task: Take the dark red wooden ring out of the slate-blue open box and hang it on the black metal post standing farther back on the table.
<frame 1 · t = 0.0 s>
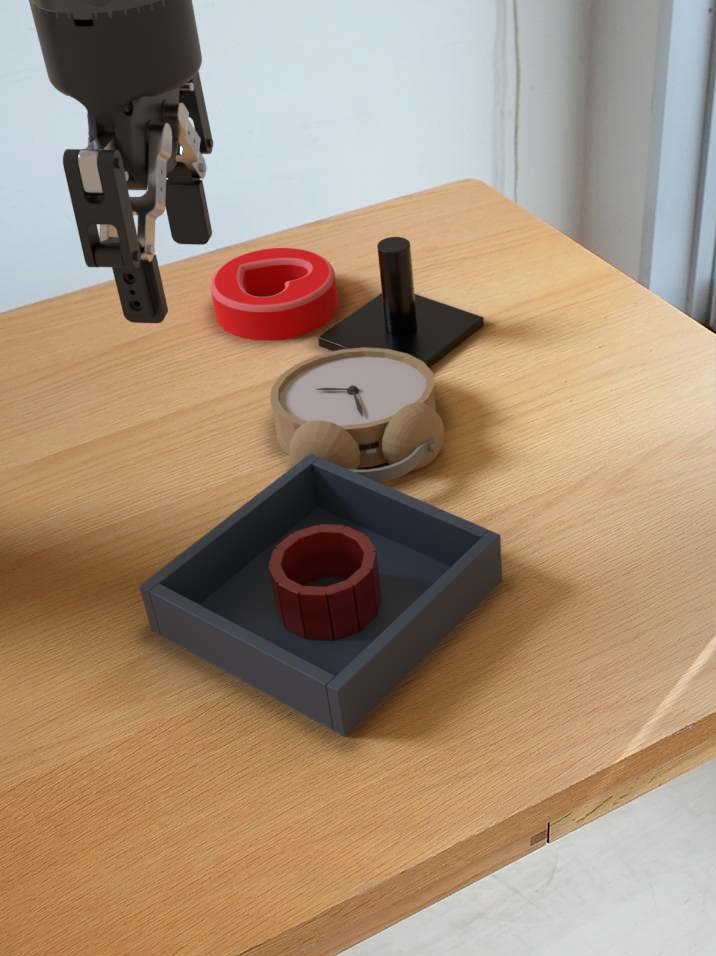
hand: (171, 279, 73), 18 cm above the table, tool pointing down, fingers open, 8 cm apart
ring: (329, 604, 77), point 1 cm above the table, touching box
decorative ornament: (277, 312, 105), on the table
post: (402, 338, 101), on the table
alarm clock: (362, 445, 91), on the table, touching box
box: (330, 611, 78), on the table
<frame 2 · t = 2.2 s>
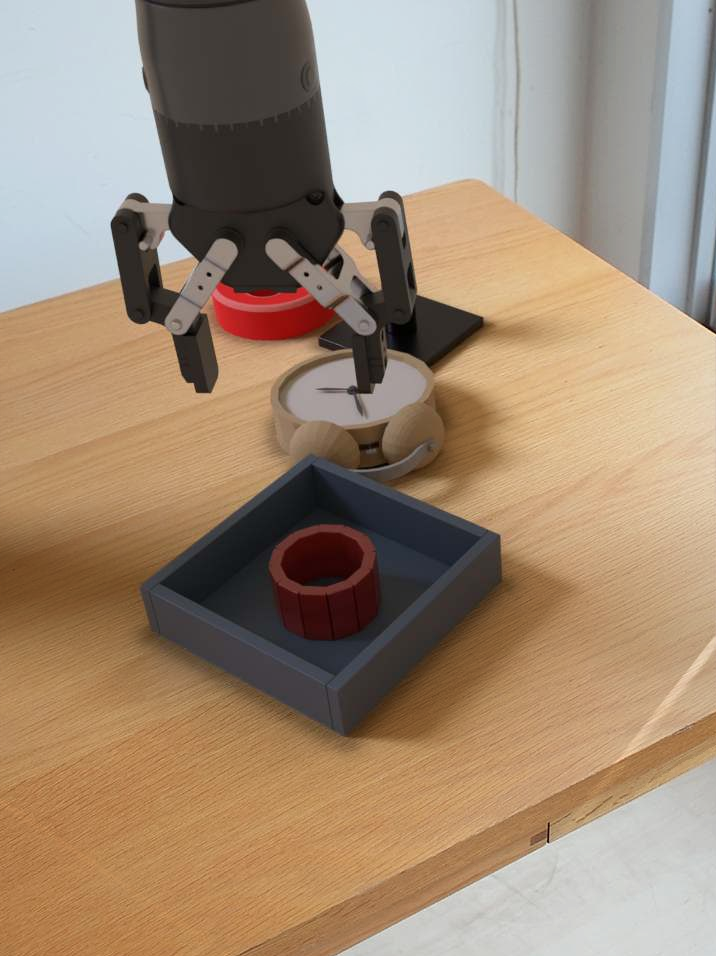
hand: (287, 385, 69), 15 cm above the table, tool pointing down, fingers open, 8 cm apart
nothing on the table moved.
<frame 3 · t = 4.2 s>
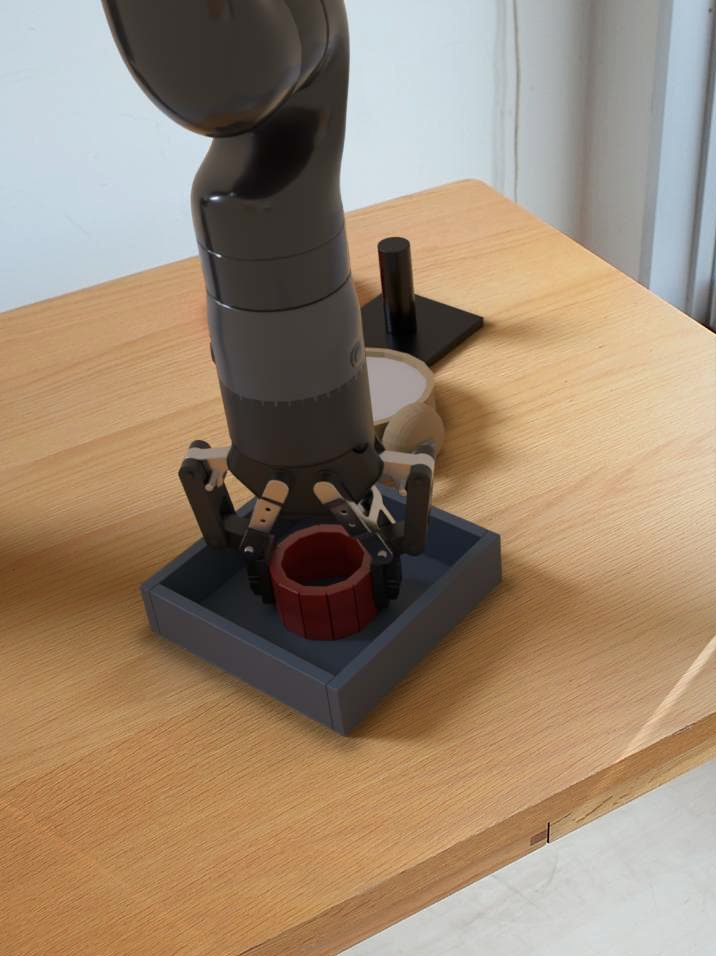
hand: (328, 595, 77), 1 cm above the table, tool pointing down, fingers closed on ring, 6 cm apart
ring: (329, 604, 77), point 1 cm above the table, touching box, gripper
everything else where it was.
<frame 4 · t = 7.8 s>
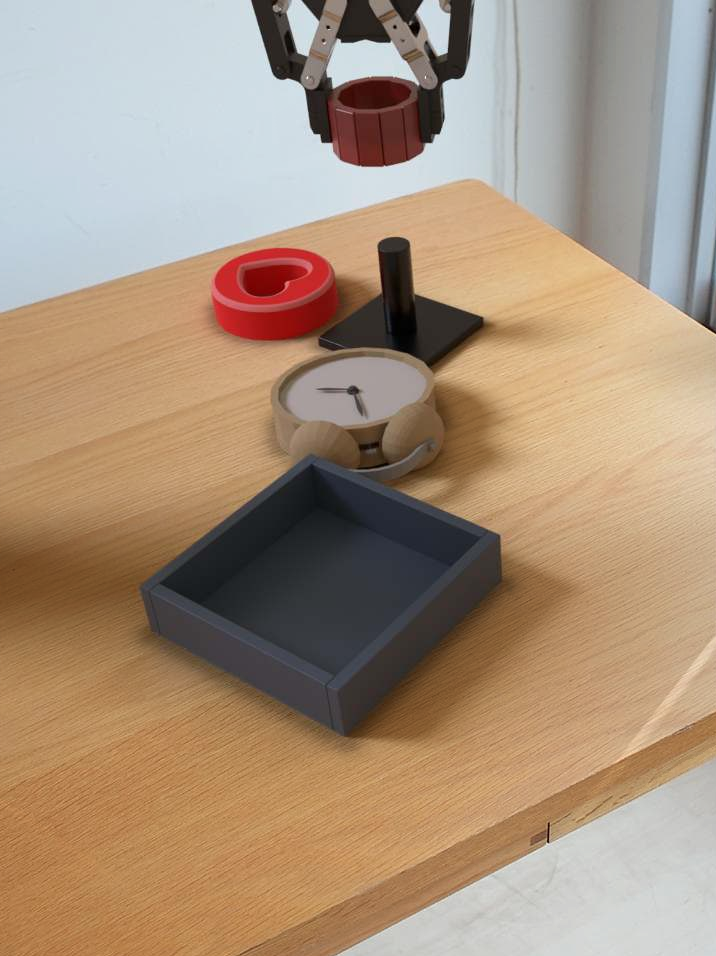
hand: (378, 137, 87), 18 cm above the table, tool pointing down, fingers closed on ring, 6 cm apart
ring: (380, 147, 87), point 17 cm above the table, touching gripper
everything else where it was.
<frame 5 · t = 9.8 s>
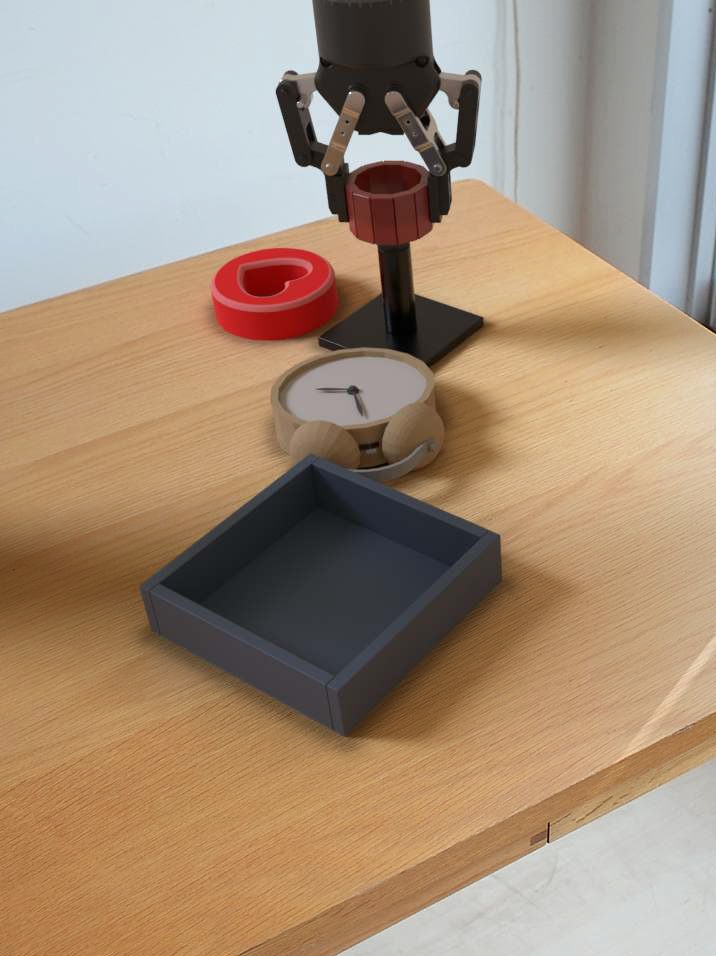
hand: (391, 217, 95), 10 cm above the table, tool pointing down, fingers closed on ring, 6 cm apart
ring: (392, 225, 95), point 10 cm above the table, touching gripper
everything else where it was.
when the fingers open (6 cm above the table, at t = 11.6 s): ring drops 4 cm, resting on post.
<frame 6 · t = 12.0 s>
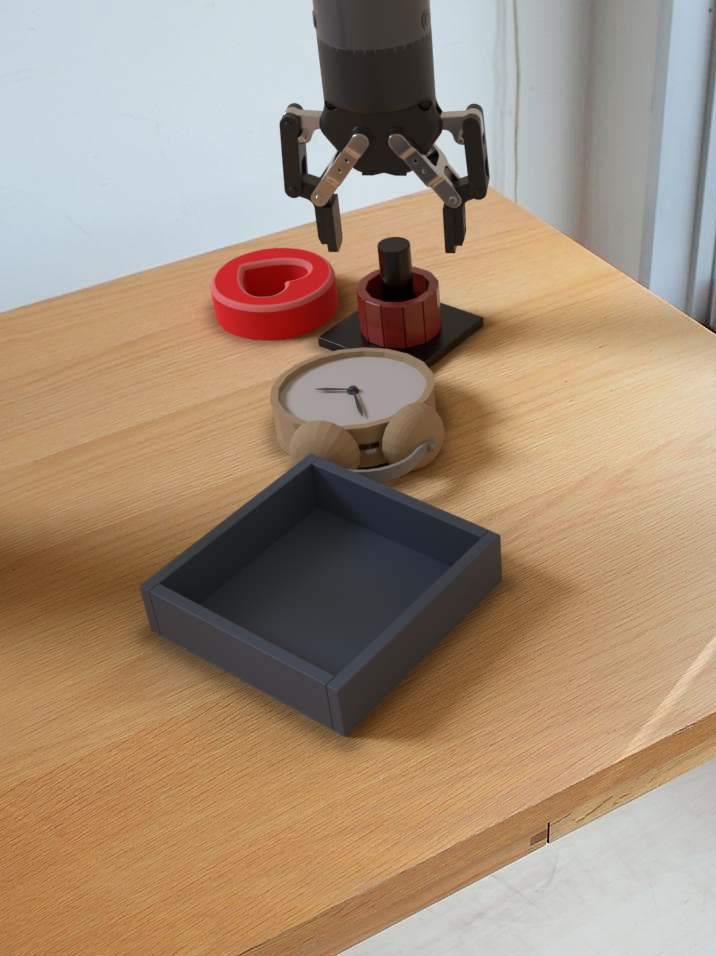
hand: (393, 247, 96), 8 cm above the table, tool pointing down, fingers open, 8 cm apart
ring: (401, 327, 100), point 1 cm above the table, touching post
everything else where it was.
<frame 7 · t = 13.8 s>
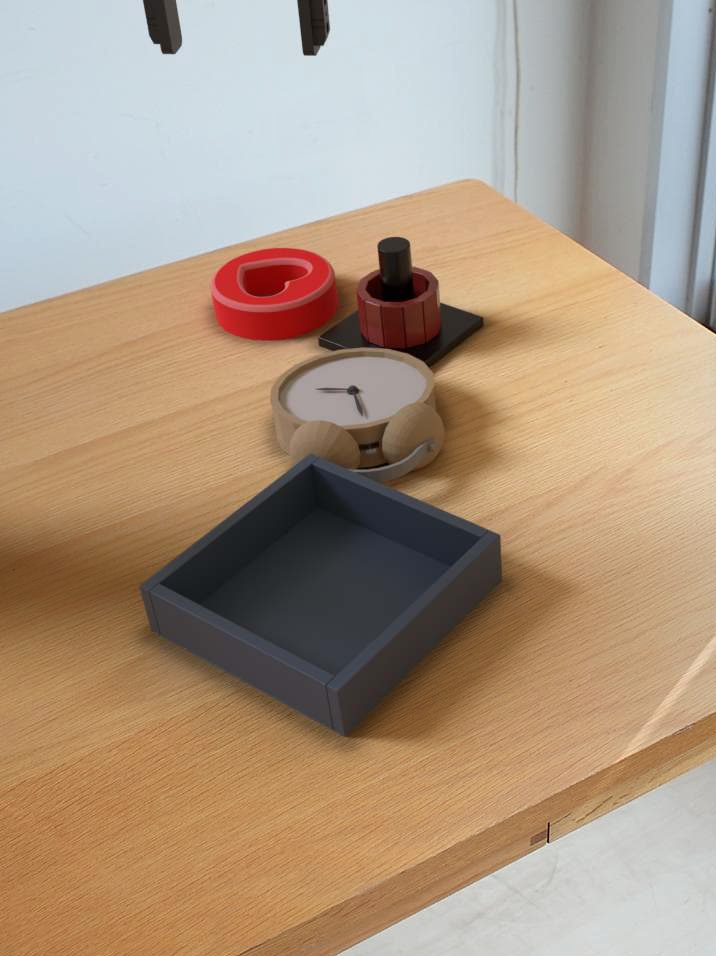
hand: (241, 50, 79), 25 cm above the table, tool pointing down, fingers open, 8 cm apart
nothing on the table moved.
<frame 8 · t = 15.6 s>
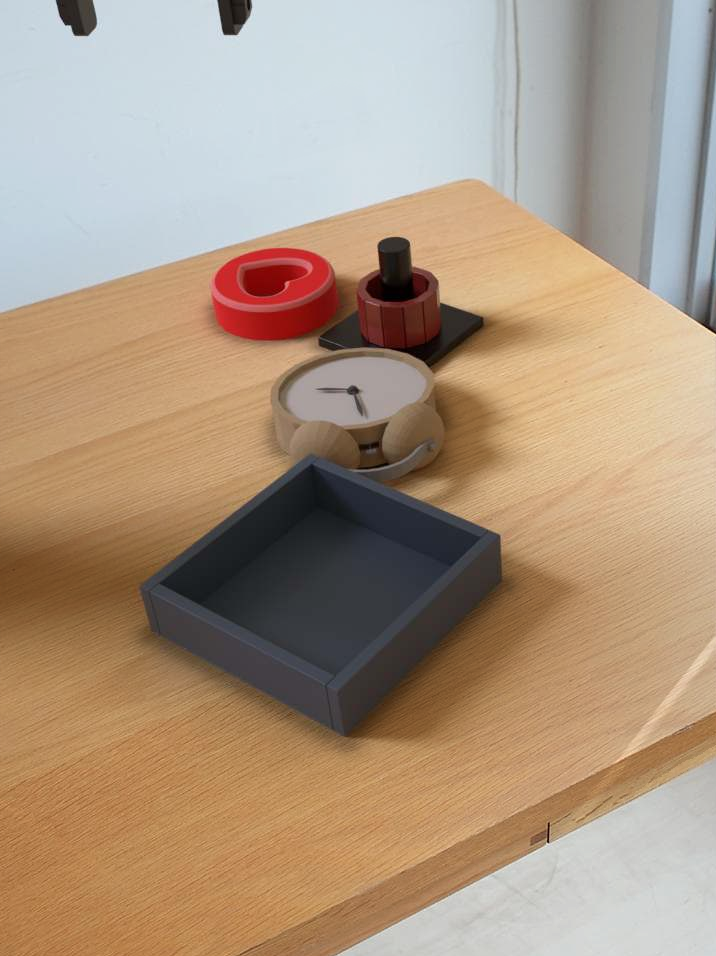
hand: (159, 31, 74), 28 cm above the table, tool pointing down, fingers open, 8 cm apart
nothing on the table moved.
at the end: ring 0.0 cm off-centre on the post, point 1.0 cm above the post's base; the gripper is holding nothing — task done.
